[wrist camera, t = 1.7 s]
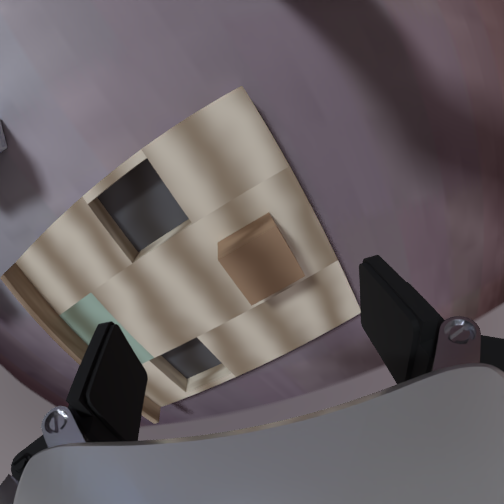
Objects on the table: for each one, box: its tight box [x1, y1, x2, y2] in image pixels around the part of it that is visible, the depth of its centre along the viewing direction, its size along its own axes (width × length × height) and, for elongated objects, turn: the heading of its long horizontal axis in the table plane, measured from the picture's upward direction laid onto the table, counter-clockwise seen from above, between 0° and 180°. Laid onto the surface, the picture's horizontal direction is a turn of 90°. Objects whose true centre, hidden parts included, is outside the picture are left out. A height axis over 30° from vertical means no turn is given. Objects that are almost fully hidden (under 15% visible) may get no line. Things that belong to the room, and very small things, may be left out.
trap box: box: [1, 86, 361, 424], centre depth 33 cm, size 34×30×6 cm
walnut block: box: [218, 212, 305, 306], centre depth 30 cm, size 6×6×4 cm
